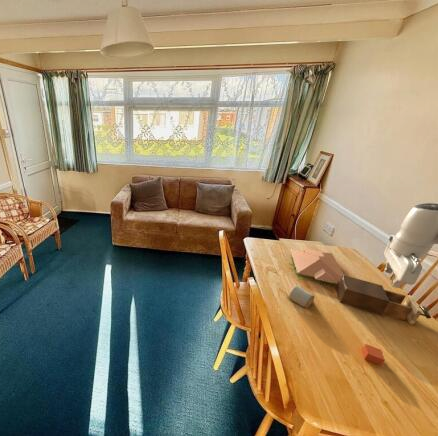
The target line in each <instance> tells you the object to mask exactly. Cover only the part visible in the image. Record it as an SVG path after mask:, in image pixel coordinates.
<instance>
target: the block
mask: <svg viewBox="0 0 438 436" xmlns="http://www.w3.org/2000/svg"><path fill="white" fill-rule="evenodd" d="M361 352H362V356H363V359H364V360H365V361H367V362H370V363H373V364H374V365H378V366H379V367H381V366H382V365H383V364H384V362H385V357H384V354H383V351H382V349H381V348H378V347H375V346H373V345H370V344H368V343H364V345H363V347H362V348H361Z"/></svg>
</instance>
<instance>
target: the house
mask: <svg viewBox="0 0 438 436" xmlns="http://www.w3.org/2000/svg"><path fill="white" fill-rule="evenodd" d="M303 250H304V251H303ZM303 250H297V249H291V248H290V252H291V256H292V258H291V260H292V259H293V261H292V263H294V264H293V267H295V268H296V269H295V268H294V270H295V274H297V275H296V277H298V278H301V279H303V280H304V278H306V280H307V281H309V279H310V281H312V282H317V283H319V285H322V286H323V285H325V286H326V287H328V285H329V287H331V288H333V287H334V286H335V287H337V285H338V284H339V282H340V280H341V278H342V275H345V274H344V273H343V270H342V269H341V267H340V265H339V263H338V262H337V260H336V258H335V256H334V254H333V253H332V252H327V251H321V250H316V249H310V248H305V247H304V248H303ZM303 276H304V277H303ZM307 278H308V279H307Z"/></svg>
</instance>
